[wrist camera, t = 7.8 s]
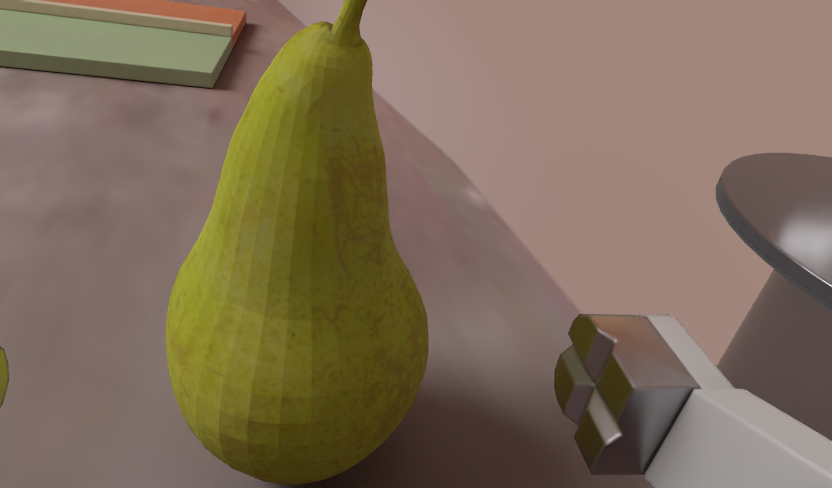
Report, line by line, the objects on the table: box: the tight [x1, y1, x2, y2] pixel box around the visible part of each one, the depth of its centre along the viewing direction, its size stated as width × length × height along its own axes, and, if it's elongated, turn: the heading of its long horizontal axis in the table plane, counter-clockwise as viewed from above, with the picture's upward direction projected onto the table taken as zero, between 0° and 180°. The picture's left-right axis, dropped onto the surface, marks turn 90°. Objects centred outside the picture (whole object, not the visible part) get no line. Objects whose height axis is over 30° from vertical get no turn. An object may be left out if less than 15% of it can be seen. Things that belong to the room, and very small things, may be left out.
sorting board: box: [0, 0, 246, 88], centre depth 42 cm, size 16×20×2 cm
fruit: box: [166, 0, 428, 485], centre depth 11 cm, size 6×6×12 cm
